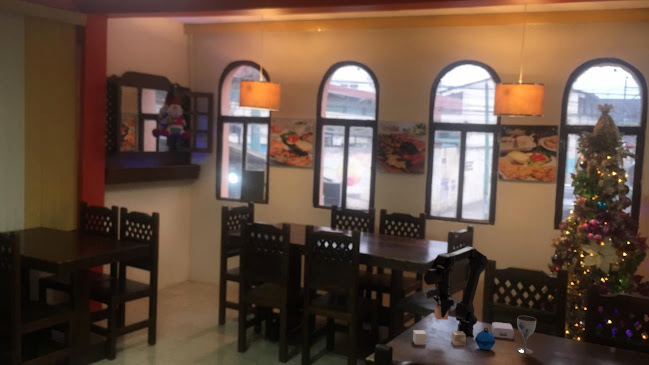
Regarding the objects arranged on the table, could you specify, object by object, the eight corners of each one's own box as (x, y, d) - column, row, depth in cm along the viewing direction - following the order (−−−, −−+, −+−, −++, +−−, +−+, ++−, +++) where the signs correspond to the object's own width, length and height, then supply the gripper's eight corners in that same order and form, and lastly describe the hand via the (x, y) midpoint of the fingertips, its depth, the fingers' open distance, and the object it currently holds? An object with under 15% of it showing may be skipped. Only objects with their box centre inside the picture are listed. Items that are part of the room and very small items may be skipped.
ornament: (494, 347, 275) (495, 326, 274) (494, 354, 267) (495, 331, 266) (474, 344, 278) (476, 323, 277) (474, 351, 269) (475, 329, 268)
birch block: (461, 341, 281) (462, 331, 281) (465, 345, 276) (465, 334, 276) (451, 341, 281) (451, 331, 281) (454, 345, 276) (454, 334, 276)
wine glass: (533, 349, 275) (536, 317, 274) (533, 355, 267) (536, 322, 266) (515, 346, 278) (517, 314, 276) (514, 352, 270) (517, 319, 269)
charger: (509, 329, 303) (513, 339, 288) (490, 327, 305) (493, 337, 290) (510, 320, 303) (513, 329, 288) (491, 318, 304) (493, 327, 290)
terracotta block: (444, 316, 281) (445, 305, 280) (447, 319, 276) (448, 308, 275) (434, 315, 281) (434, 305, 280) (437, 319, 276) (437, 308, 275)
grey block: (423, 340, 280) (424, 330, 280) (426, 344, 275) (426, 334, 275) (412, 340, 280) (413, 330, 279) (415, 344, 275) (415, 333, 274)
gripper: (421, 276, 285) (419, 308, 287) (430, 287, 267) (428, 321, 268) (444, 277, 286) (442, 309, 288) (455, 287, 268) (453, 322, 269)
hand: (441, 315), depth 278 cm, fingers closed on terracotta block, 5 cm apart
